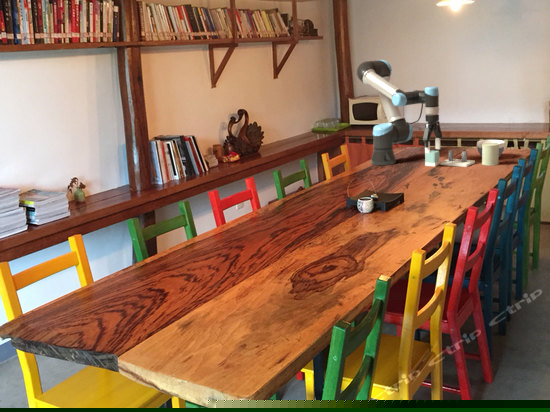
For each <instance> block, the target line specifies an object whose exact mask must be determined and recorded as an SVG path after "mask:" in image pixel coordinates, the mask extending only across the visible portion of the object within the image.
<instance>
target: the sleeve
mask: <svg viewBox="0 0 550 412" xmlns="http://www.w3.org/2000/svg"><path fill="white" fill-rule="evenodd" d="M424 158H425V159H424V166H425V167H437V166H440V151H439V150H431V149H430V153H425V152H424Z"/></svg>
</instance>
